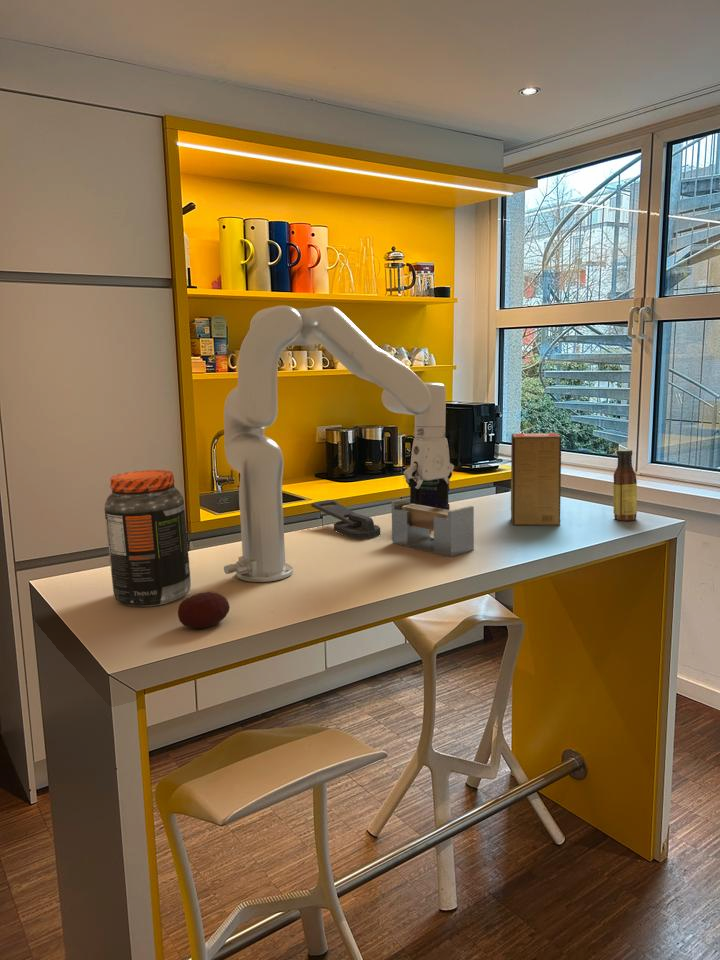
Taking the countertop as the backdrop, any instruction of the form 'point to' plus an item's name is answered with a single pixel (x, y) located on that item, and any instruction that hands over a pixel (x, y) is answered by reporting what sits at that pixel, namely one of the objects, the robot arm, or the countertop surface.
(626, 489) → the sauce bottle
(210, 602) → the potato
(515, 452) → the food packaging
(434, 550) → the grey cradle stand
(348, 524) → the zipper pull
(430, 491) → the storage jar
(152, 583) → the supplement tub
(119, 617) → the countertop surface
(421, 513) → the brown rectangular block
